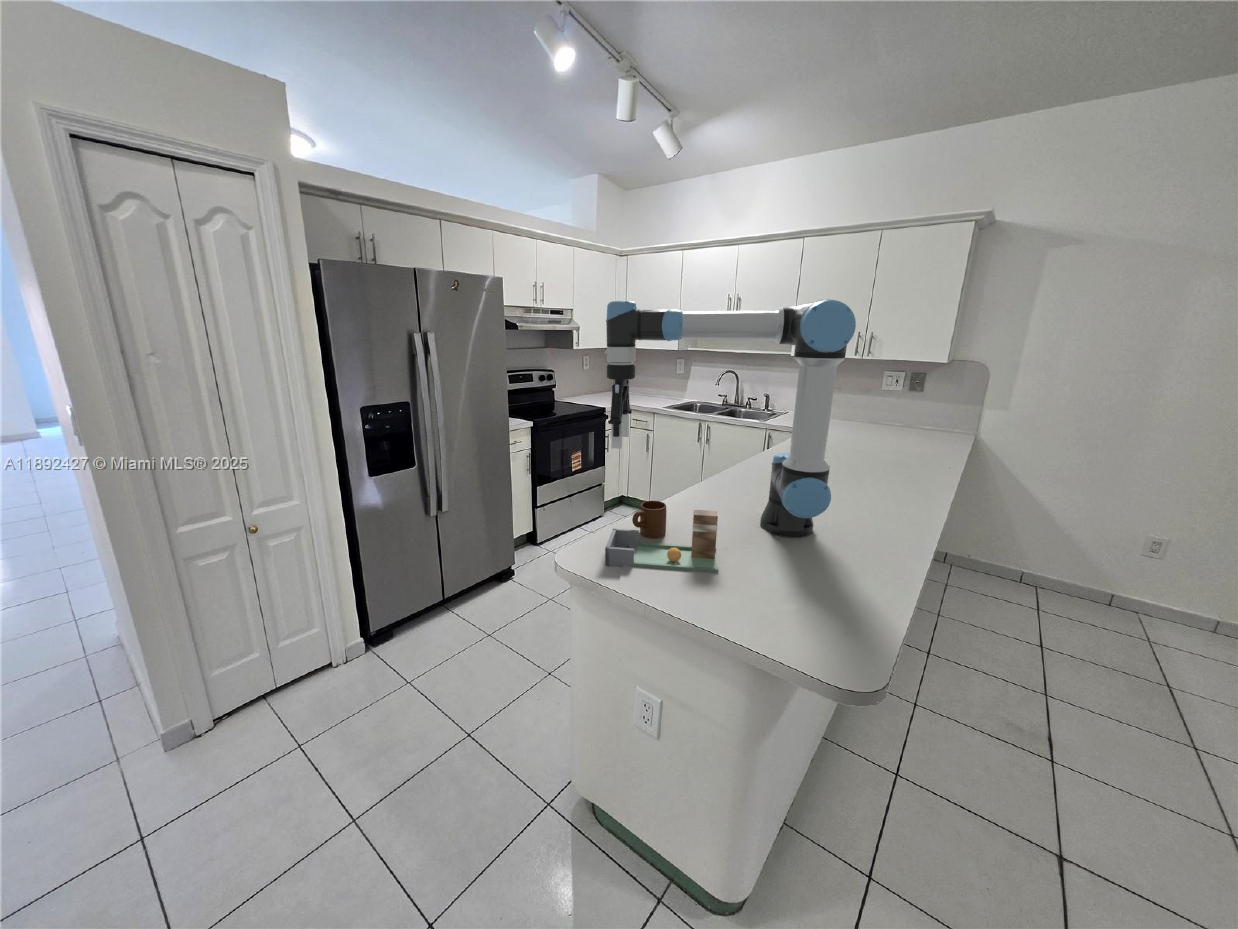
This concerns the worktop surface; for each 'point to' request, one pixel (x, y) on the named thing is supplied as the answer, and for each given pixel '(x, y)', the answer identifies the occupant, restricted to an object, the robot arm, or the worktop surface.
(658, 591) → the worktop surface
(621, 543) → the pitch
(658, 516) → the mug
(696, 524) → the block
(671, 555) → the ball
